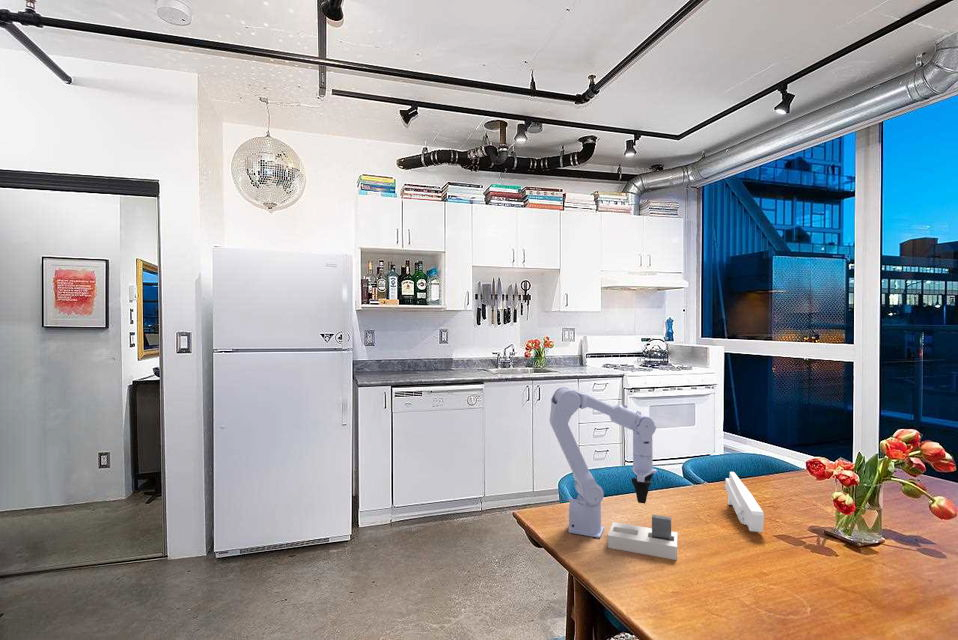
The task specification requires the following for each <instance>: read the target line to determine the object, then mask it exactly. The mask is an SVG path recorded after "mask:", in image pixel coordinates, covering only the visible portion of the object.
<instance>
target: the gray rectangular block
mask: <svg viewBox="0 0 958 640" xmlns="http://www.w3.org/2000/svg"><path fill="white" fill-rule="evenodd" d="M651 528H652V538H657V539H663V540H669V541H671V531H672V516H666V515H665V516H663V515H657V514H652V515H651Z"/></svg>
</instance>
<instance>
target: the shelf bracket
mask: <svg viewBox="0 0 958 640" xmlns="http://www.w3.org/2000/svg"><path fill="white" fill-rule="evenodd" d="M728 475H729V478H728V477H727V478H726V477H725V483H724V485H725V486H724V487H725V488H724V489H725V491H726V493H727V495H728V496H727V505H728V506H732V507H733V510H734V512H735V514H736V516H737V519H738V520H739V522H740V524H741V523H742V524H744V525H746V526H747V528H748V530H749V532H755V533H763V532H764V523H765V522H764V521H765V513H764V511H763V509H762V508H761V506H760V505H759V504H758V501H756V499H755V497H754V496H753V494H752V492H750V490H749V489H748V488H747V487H746V485H745V484H744V483H743V482H742V480H741V478H739V477H738V475H737V474H736V472H735V471H729V474H728ZM742 524H741V525H742ZM744 525H743V526H744Z"/></svg>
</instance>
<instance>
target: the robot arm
mask: <svg viewBox="0 0 958 640" xmlns="http://www.w3.org/2000/svg"><path fill="white" fill-rule="evenodd" d="M550 403H551V404H550V414H549V423H550V426H551V428H552V431H553V432H554V435H555V437H556V439H557V442H558V443H559V446H560V448H561V451H562V452H563V454H564V457H565V459H566V461H567V463H568V465H569V468H570V470H571V473H572V477H573V480H574V488H575V491H576V492H577V494H578V495H577V497H576V499H575V498H574V499H570V501H569V508H568V533H570V534H574V535H575V534H576V535H582V536H585V537H592V538H598V539H600V538H601V536H602V535H603V534H602V533H603V532H604V530H605V526H603V525H602V502H603V500H604V495H605V492H604V490H603V488H602V487H601V486H600V485H599V484H597V481H596V480H595V478H594V476H593V475H592V473H591V471H590V470H589V468H588V465H587V463H586V461H585V458H584V456H583V454H582V453H581V450H580V447H579V446H578V444H577V441H576V440H575V439H576V438H575V437H574V435H573V432H572V431H571V428H570V426H569V422H570V420H571V418H572V416H573V415H574V414H575V413H576V412H577V411H578V409H581V410H583V409H586V408H589V409H592V410H594V411H597V412H599V413H601V414H604V415H607V416H609V420H610V421H611V422H612V423H615V424H617V425H619V426H622V427H623V428H626V429H629V430H630V431H631V430H632V472H633V473H634V475H635V476H636V477H631V480H630V481H631V483H632V486H633V487H634V490H635V494H636V500H637V503H639V504H645V505H646V502H647V497H648V494H649V489H650V486H651V485H652V477H653V476H654V474H657V469H656V468H653V436H654V434H655V432H656V431H657V426H656V424H655V422H654V421H653V419H652V418H651V417H650V416H646V415H644V414H642V412H640V411H639V410H637V411H635V410H632V408H628V405H626V404H616V405H614V406H613V405H611V404H609V403H606V402H604V401H602V400H600V399H597V398H595V397H594V396H591V395H590V394H587V393H584V392H582V391H577V390H575V389H572V390H571V389H570V388H568V387H564V386H563V387H559V388H557V389H556V390H555V391H554V393H553V395H552V397H551V399H550Z"/></svg>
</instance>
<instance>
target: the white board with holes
mask: <svg viewBox="0 0 958 640" xmlns="http://www.w3.org/2000/svg"><path fill="white" fill-rule="evenodd" d="M678 537H679V536H678V532H677V531H672V530H671V541H669V540H663V539H657V538H652V527H646V526H640V525H639V526H638V525H633V524H627V523H621V522H616V521H615V522H613V521H612V524H611V526H610V529H609V531H608V534H607V548H608V549H613V550H619V551H624V552H629V553H635V554H641V555H647V556H652V557H657V558H661V559H669V560H675V561H678V548H679V547H678V546H679V545H678V541H679V539H678Z"/></svg>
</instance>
